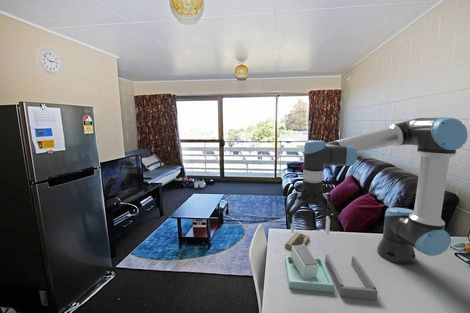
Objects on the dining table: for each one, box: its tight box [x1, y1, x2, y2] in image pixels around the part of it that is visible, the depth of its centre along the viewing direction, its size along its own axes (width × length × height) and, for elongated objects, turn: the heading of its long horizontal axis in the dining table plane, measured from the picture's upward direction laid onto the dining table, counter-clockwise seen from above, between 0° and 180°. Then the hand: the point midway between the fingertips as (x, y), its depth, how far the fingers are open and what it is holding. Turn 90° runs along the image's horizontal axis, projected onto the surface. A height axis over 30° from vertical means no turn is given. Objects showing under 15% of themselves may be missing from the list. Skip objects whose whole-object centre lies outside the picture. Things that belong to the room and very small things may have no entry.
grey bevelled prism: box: [290, 245, 319, 279], centre depth 100 cm, size 6×12×6 cm, turn 11°
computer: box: [284, 231, 310, 251], centre depth 124 cm, size 16×8×3 cm, turn 147°
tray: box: [284, 255, 335, 293], centre depth 99 cm, size 16×18×3 cm
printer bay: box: [324, 254, 378, 301], centre depth 96 cm, size 12×21×4 cm, turn 174°
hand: (309, 232), depth 96 cm, fingers open, 13 cm apart
